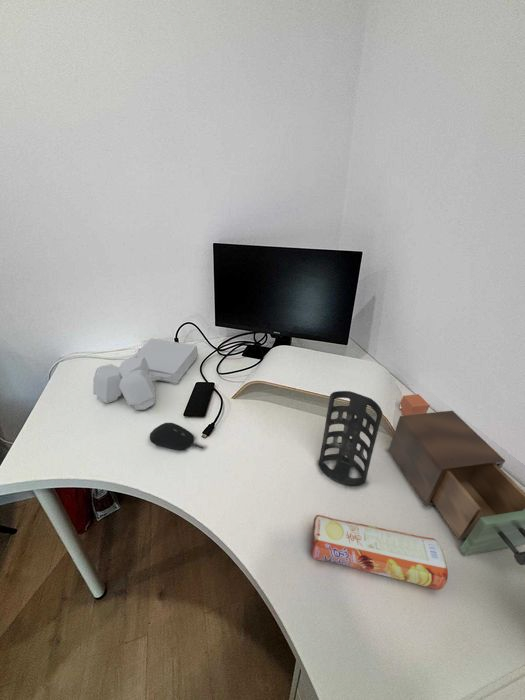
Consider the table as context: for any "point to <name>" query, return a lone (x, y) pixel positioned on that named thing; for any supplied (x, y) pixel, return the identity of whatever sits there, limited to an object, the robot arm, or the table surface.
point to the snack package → (379, 551)
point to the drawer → (483, 509)
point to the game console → (144, 372)
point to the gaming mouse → (172, 437)
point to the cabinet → (437, 449)
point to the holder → (349, 445)
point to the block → (413, 405)
